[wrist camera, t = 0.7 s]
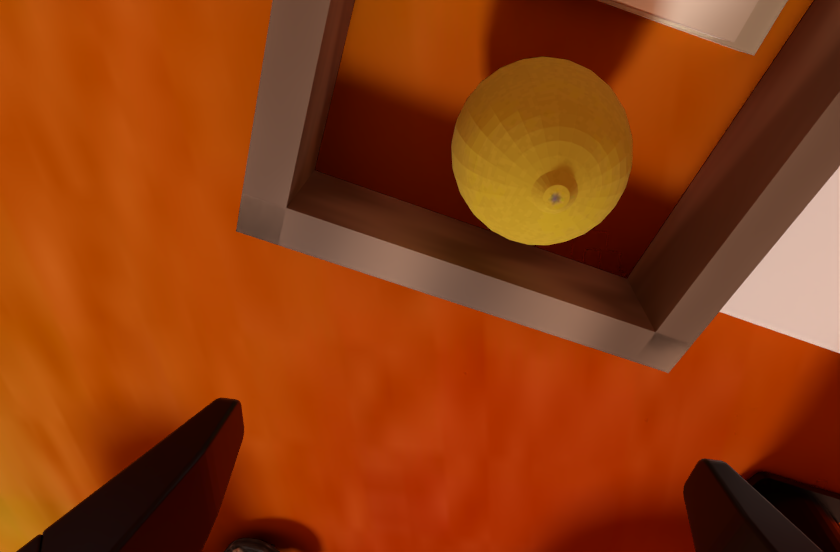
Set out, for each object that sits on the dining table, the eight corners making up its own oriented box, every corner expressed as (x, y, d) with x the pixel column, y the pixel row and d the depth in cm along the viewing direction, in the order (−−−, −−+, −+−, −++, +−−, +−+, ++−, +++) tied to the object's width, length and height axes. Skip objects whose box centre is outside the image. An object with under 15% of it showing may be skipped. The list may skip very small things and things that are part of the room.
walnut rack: (975, -149, 15) (1130, -186, 11) (638, 315, 24) (668, 372, 20) (392, -435, 13) (366, -586, 9) (271, 190, 22) (236, 231, 18)
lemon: (465, 33, 18) (466, 69, 11) (616, 54, 18) (709, 102, 11) (443, 177, 21) (435, 275, 14) (574, 195, 21) (628, 302, 14)
